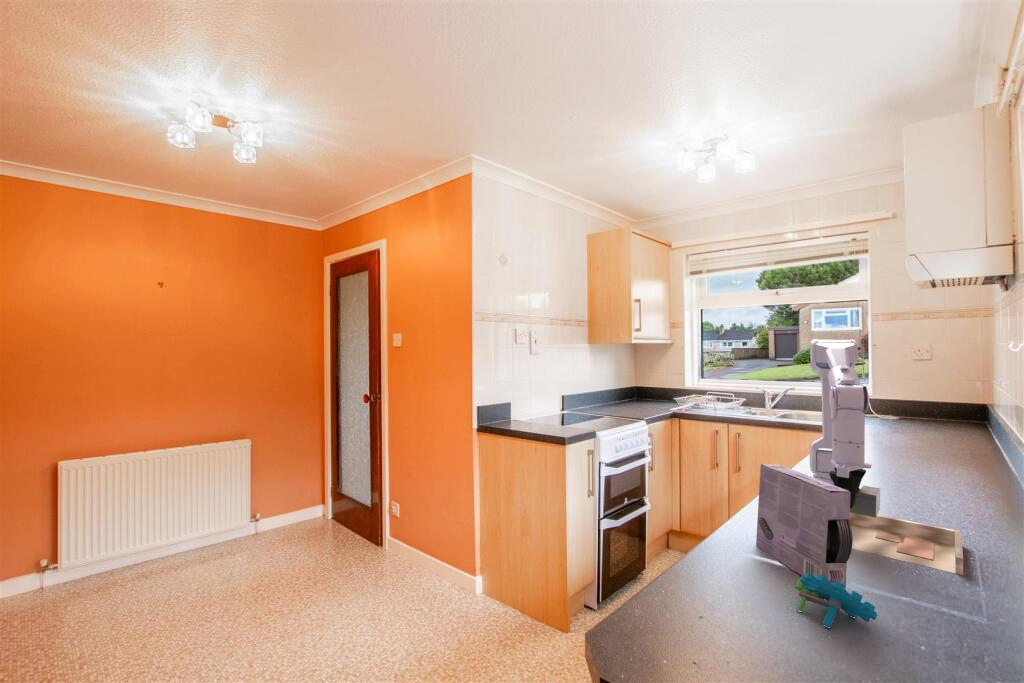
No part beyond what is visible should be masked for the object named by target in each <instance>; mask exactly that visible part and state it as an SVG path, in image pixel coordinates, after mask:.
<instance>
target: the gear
mask: <svg viewBox="0 0 1024 683" xmlns="http://www.w3.org/2000/svg"><path fill="white" fill-rule="evenodd" d="M844 587H845V585H844V584H842V583H839V582H837V581H835V582H834V584H832V583H831V582H829V581H828V579H827V578H826V577H825V576H823V575H817V578H816V577H815V576H813V575H812V574H810V573H807V574H806V576H803V575H800V579H799V578H798V579H797V581H796V583H795V586H794V588H795V589H796V590H798V591H799V594H798V596H799V597H800V600H799V602H798V606H797V608H796V611H797V610H799V611H802V612H803V611H804V608H805V605H806V603H807V602H810V603H813V604H816V605H819V606H821V607H825V608H828V609H827V611H826V613H825V617H824V619H823V622H822V624H823V625H825V626H827V627H831V628H832V625H833V622H834V619H835V616H836V613H837V612H840V611H841V610H842V612H844V613H845V614H846V615H847V614H848V615H850V616H852V617H855V618H854V619H857V618H860V619H861V620H863V621H864V622H866V623H867V622H870V619H872V620H875V621H876V620H877V617H878V612H877V611H876V610H875V609H876V607H875V605H874V604H872V603H871V602H869V601H866V600H865V601H864V602H862V600H863V598H864V597H863V595H862V594H860V593H858V592H857V591H855V590H852V591H851V593H849V592H847V590H846V589H844ZM848 615H847V616H848ZM852 617H851V618H852ZM823 625H822V626H823Z"/></svg>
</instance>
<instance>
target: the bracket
mask: <svg viewBox="0 0 1024 683" xmlns="http://www.w3.org/2000/svg"><path fill="white" fill-rule="evenodd" d="M829 484H831V485H834V484H832V483H829ZM834 486H835V485H834ZM880 511H881V488H879V487H874V486H868V485H863V486H861V488H860V487H859V488H857V490H856V494H855V500H854V504H853V507H852V509H851V508H850V512H851V513H856V514H861V515H865V516H870V517H875V518H876V516H877V515H879V512H880Z"/></svg>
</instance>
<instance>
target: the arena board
mask: <svg viewBox="0 0 1024 683" xmlns="http://www.w3.org/2000/svg"><path fill="white" fill-rule="evenodd" d="M849 521H850V525H851V529H852V536H853V541H852V550H856V551H860V552H863V553H869V554H872V555H876V556H880V557H884V558H885V557H886V558H890V559H893V560H897V561H902V562H905V563H906V562H907V563H910V564H914V565H918V566H919V565H920V566H923V567H927V568H930V569H935V570H939V571H944V572H948V573H952V574H956V575H961V576H964V553H963V552H964V550H963V539H962V531H961V530H956V529H952V528H947V527H946V528H945V527H941V526H935V525H931V524H926V523H921V522H916V521H910V520H905V519H901V518H895V517H889V516H886V515H885V516H884V515H880V514H877V516H876V518H875V517H870V516H865V515H861V514H856V513H851V512H850V518H849Z"/></svg>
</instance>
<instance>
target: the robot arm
mask: <svg viewBox="0 0 1024 683" xmlns="http://www.w3.org/2000/svg"><path fill="white" fill-rule="evenodd" d="M858 345H859V344H858V343H857V341H856V340H855V339H812V340H811V341H810V347H809V350H810V351H809V352H810V353H809V358H810V368H811V372H813V373H815V374H816V375H817V374H818V376H819V380H820V382H821V422H822V423H821V427H822V428H821V429H822V432H821V433H822V436H820V437H819V438H818V439H816V440H814V441H812V443H811V444H810V450H809V468H810V471H811V472H812V473H809V472H808V473H807V474H806V475H808V476H811V477H814V478H816V479H819V480H821V481H824V482H826V483H832V484H834V485H835V486H837V487H840V488H842V489H845V490H848V491H850V493H851V495H850V508H851V509H852V507H853V504H854V500H855V494H856V490H857V488H860V487H861V483H862V480H863V478H864V477H865V475H866V473H867V469H872V463H867V462H865V455H866V454H865V447H866V445H865V443H866V442H865V439H866V436H865V434H866V433H865V428H866V427H865V425H866V422H865V421H866V420H865V418H866V414H865V413H867V412H868V409H869V403H870V402H869V400H870V398H869V391H868V387H867V385H865V384H863V383H861V381H860V379H859V375H858V372H857V371H856V369H855V367H856V364H857V362H858V356H859V346H858ZM825 449H827V450H825Z"/></svg>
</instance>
